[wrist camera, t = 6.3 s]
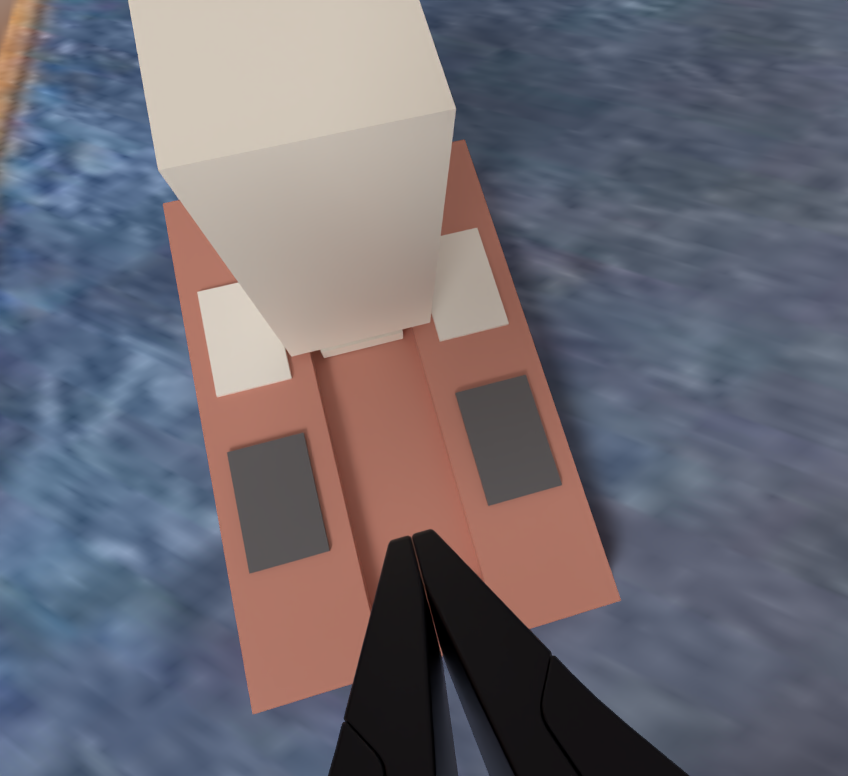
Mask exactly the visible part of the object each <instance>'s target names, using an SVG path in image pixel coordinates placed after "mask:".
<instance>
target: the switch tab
mask: <svg viewBox="0 0 848 776" xmlns="http://www.w3.org/2000/svg"><path fill="white" fill-rule="evenodd" d="M128 2H129V7H130V13H131V19H132V24H133V30H134V36H135V41H136V47H137V53H138V58H139V64H140V70H141V75H142V81H143V87H144V92H145V98H146V104H147V109H148V115H149V121H150V126H151V132H152V138H153V143H154V149H155V155H156V160H157V166H158V171H159V172H160V173H161V175H162V176H163V178H164V179H165V180H166V182H167V183H168V185H169V186H170V187H171V189H172V190H173V192H174V193H175V194H176V196H177V197H178V199H179V200H180V201H181V203H182V204H183V206H184V207H185V208H186V210H187V211H188V213H189V214H190V215H191V217H192V218H193V220H194V221H195V222H196V224H197V225H198V227H199V228H200V229H201V231H202V232H203V234H204V235H205V236H206V238H207V239H208V241H209V242H210V243H211V245H212V246H213V248H214V249H215V250H216V252H217V253H218V255H219V256H220V257H221V259H222V260H223V262H224V263H225V264H226V266H227V267H228V269H229V270H230V271H231V273H232V274H233V276H234V277H235V278H236V280H237V281H238V283H239V284H240V285H241V287H242V288H243V290H244V291H245V292H246V294H247V295H248V297H249V298H250V299H251V301H252V302H253V304H254V305H255V306H256V308H257V309H258V311H259V312H260V313H261V315H262V316H263V318H264V319H265V320H266V322H267V323H268V325H269V326H270V327H271V329H272V330H273V332H274V333H275V334H276V336H277V337H278V339H279V340H280V341H281V343H282V344H283V346H284V347H285V348H286V350H287V351H288V353H289V354H290V355H291V357H292V356H296V355H300V354H304V353H308V352H313V351H317V350H321V353H322V355H323V357H324V358H327V357H331V356H335V355H339V354H343V353H347V352H351V351H355V350H359V349H363V348H367V347H372V346H376V345H380V344H384V343H388V342H392V341H396V340H400V339H403V331H402V329H406V328H410V327H414V326H418V325H422V324H426V323H430V319H431V311H432V303H433V294H434V286H435V278H436V270H437V261H438V253H439V245H440V237H441V228H442V220H443V212H444V204H445V195H446V187H447V179H448V171H449V163H450V154H451V146H452V138H453V130H454V121H455V113H456V107H455V104H454V101H453V98H452V95H451V92H450V89H449V87H448V84H447V81H446V78H445V75H444V72H443V69H442V66H441V63H440V60H439V57H438V54H437V51H436V48H435V45H434V42H433V39H432V37H431V34H430V31H429V28H428V25H427V22H426V19H425V16H424V13H423V10H422V7H421V4H420V1H419V0H128Z"/></svg>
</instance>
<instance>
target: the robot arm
mask: <svg viewBox="0 0 848 776" xmlns="http://www.w3.org/2000/svg"><path fill="white" fill-rule="evenodd" d="M412 540H413V542H412ZM413 544H414V545H413ZM414 548H415V549H414ZM415 552H416V553H415ZM416 556H417V557H416ZM417 560H418V561H417ZM418 564H419V565H418ZM419 567H420V569H419ZM420 571H421V572H420ZM421 575H422V576H421ZM422 579H423V580H422ZM423 583H424V584H423ZM424 587H425V588H424ZM425 591H426V592H425ZM426 595H427V596H426ZM427 598H428V599H427ZM428 602H429V603H428ZM429 606H430V607H429ZM430 610H431V611H430ZM431 614H432V615H431ZM432 618H433V619H432ZM433 622H434V623H433ZM434 625H435V627H434ZM435 629H436V630H435ZM436 633H437V634H436ZM437 637H438V638H437ZM438 641H439V642H438ZM439 644H440V647H439ZM440 648H441V651H442V654H443V657H444V660H445V663H446V665H447V668H448V671H449V673H450V676H451V678H452V681H453V683H454V686H455V689H456V691H457V694H458V696H459V699H460V701H461V704H462V707H463V709H464V712H465V714H466V717H467V719H468V722H469V724H470V727H471V730H472V732H473V735H474V737H475V740H476V742H477V745H478V748H479V750H480V753H481V755H482V758H483V760H484V763H485V765H486V768H487V771H488V773H489V776H689V775H688V774H687V773H686V772H684V771H683V770H682V769H681V768H679V767H678V766H677V765H676V764H675V763H673V762H672V761H671V760H670V759H669V758H667V757H666V756H665V755H664V754H663V753H661V752H660V751H659V750H658V749H657V748H655V747H654V746H653V745H652V744H651V743H649V742H648V741H647V740H646V739H645V738H643V737H642V736H641V735H640V734H639V733H637V732H636V731H635V730H634V729H633V728H631V727H630V726H629V725H628V724H626V723H625V722H624V721H623V720H622V719H621V718H620V717H618V716H617V715H616V714H615V713H614V712H613V711H612V710H610V709H609V708H608V707H607V706H606V705H605V704H604V703H602V702H601V701H600V700H599V699H598V698H597V697H596V696H595V695H594V694H593V693H592V692H591V691H590V690H589V689H588V688H586V687H585V686H584V685H583V684H582V683H581V682H580V681H579V680H578V679H577V678H576V677H575V676H574V675H573V674H572V673H571V672H570V671H569V670H568V669H567V668H566V667H565V666H564V665H563V663H562V662H561V661H560V660H559V659H558V658H557V657H556V656H552V653H551V651H550V650H549V649H548V648H547V647H546V646H545V645H544V644H543V643H542V642H541V641H540V640H539V639H538V638H537V637H536V636H535V635H534V634H533V633H532V632H531V630H530V629H529V628H528V627H527V626H526V625H525V624H524V623H523V622H522V621H521V620H520V619H519V618H518V617H517V616H516V615H515V614H514V613H513V612H512V611H511V610H510V609H509V608H508V607H507V605H506V604H505V603H504V602H503V601H502V600H501V599H500V598H499V597H498V596H497V595H496V594H495V593H494V592H493V591H492V590H491V589H490V588H489V587H488V586H487V585H486V584H485V583H484V582H483V580H482V579H481V578H480V577H479V576H478V575H477V574H476V573H475V572H474V571H473V570H472V569H471V568H470V567H469V566H468V565H467V564H466V563H465V562H464V561H463V560H462V559H461V558H460V557H459V556H458V554H457V553H456V552H455V551H454V550H453V549H452V548H451V547H450V546H449V545H448V544H447V543H446V542H445V541H444V540H443V539H442V538H441V537H440V536H439V535H438V534H437V533H436V532H435V531H434V530H433V529H428V530H424V531H421V532H417V533H414V534H413V535H412V538H411V537H410V536H408V535H407V536H403V537H400V538H396V539H393V540H391V541H390V542H389V544H388V547H387V551H386V555H385V559H384V562H383V566H382V570H381V574H380V578H379V582H378V586H377V590H376V594H375V598H374V602H373V606H372V609H371V613H370V617H369V621H368V625H367V629H366V633H365V637H364V641H363V645H362V649H361V653H360V656H359V660H358V664H357V668H356V672H355V676H354V680H353V684H352V688H351V692H350V696H349V700H348V703H347V707H346V711H345V715H344V720H345V722H343V723H342V726H341V730H340V734H339V738H338V742H337V746H336V749H335V753H334V756H333V760H332V763H331V767H330V770H329V774H328V776H458V771H457V763H456V756H455V749H454V741H453V734H452V727H451V719H450V712H449V705H448V698H447V690H446V683H445V676H444V668H443V662H442V656H441V651H440Z"/></svg>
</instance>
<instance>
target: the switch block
mask: <svg viewBox="0 0 848 776" xmlns="http://www.w3.org/2000/svg"><path fill="white" fill-rule="evenodd" d="M163 207H164V213H165V219H166V224H167V230H168V236H169V241H170V247H171V253H172V258H173V264H174V270H175V275H176V281H177V287H178V293H179V298H180V304H181V310H182V315H183V321H184V327H185V332H186V338H187V344H188V349H189V355H190V361H191V366H192V372H193V378H194V383H195V389H196V395H197V400H198V406H199V412H200V418H201V423H202V429H203V435H204V440H205V446H206V452H207V457H208V463H209V469H210V474H211V480H212V486H213V491H214V497H215V503H216V508H217V514H218V520H219V525H220V531H221V537H222V543H223V548H224V554H225V560H226V565H227V571H228V577H229V582H230V588H231V594H232V599H233V605H234V611H235V616H236V622H237V628H238V633H239V639H240V645H241V650H242V656H243V662H244V668H245V673H246V679H247V685H248V690H249V696H250V702H251V707H252V713H253V714H256V713H259V712H262V711H266V710H269V709H272V708H275V707H279V706H282V705H285V704H288V703H292V702H295V701H298V700H301V699H304V698H308V697H311V696H314V695H317V694H321V693H324V692H327V691H330V690H334V689H337V688H340V687H343V686H346V685H350V684H353V680H354V676H355V672H356V668H357V664H358V660H359V656H360V653H361V649H362V645H363V641H364V637H365V633H366V629H367V625H368V621H369V617H370V613H371V609H372V606H373V602H374V598H375V594H376V590H377V586H378V582H379V578H380V574H381V570H382V566H383V562H384V559H385V555H386V551H387V547H388V544H389V542H390V541H391V540H393V539H396V538H400V537H403V536H407V535H408V536H410V537H411V538H412V535H413V534H414V533H417V532H421V531H424V530H428V529H433V530H434V531H435V532H436V533H437V534H438V535H439V536H440V537H441V538H442V539H443V540H444V541H445V542H446V543H447V544H448V545H449V546H450V547H451V548H452V549H453V550H454V551H455V552H456V553H457V554H458V556H459V557H460V558H461V559H462V560H463V561H464V562H465V563H466V564H467V565H468V566H469V567H470V568H471V569H472V570H473V571H474V572H475V573H476V574H477V575H478V576H479V577H480V578H481V579H482V580H483V582H484V583H485V584H486V585H487V586H488V587H489V588H490V589H491V590H492V591H493V592H494V593H495V594H496V595H497V596H498V597H499V598H500V599H501V600H502V601H503V602H504V603H505V604H506V605H507V607H508V608H509V609H510V610H511V611H512V612H513V613H514V614H515V615H516V616H517V617H518V618H519V619H520V620H521V621H522V622H523V623H524V624H525V625H526V626H527V627H528V628H529V629H531V628H534V627H537V626H540V625H544V624H547V623H550V622H553V621H557V620H560V619H563V618H566V617H569V616H573V615H576V614H579V613H582V612H586V611H589V610H592V609H595V608H599V607H602V606H605V605H608V604H611V603H615V602H618V601H621V599H620V596H619V593H618V590H617V587H616V584H615V581H614V578H613V575H612V572H611V569H610V566H609V563H608V561H607V558H606V555H605V552H604V549H603V546H602V543H601V540H600V537H599V534H598V531H597V528H596V525H595V522H594V519H593V516H592V513H591V510H590V507H589V504H588V502H587V499H586V496H585V493H584V490H583V487H582V484H581V481H580V478H579V475H578V472H577V469H576V466H575V463H574V460H573V457H572V454H571V451H570V448H569V445H568V443H567V440H566V437H565V434H564V431H563V428H562V425H561V422H560V419H559V416H558V413H557V410H556V407H555V404H554V401H553V398H552V395H551V392H550V389H549V386H548V384H547V381H546V378H545V375H544V372H543V369H542V366H541V363H540V360H539V357H538V354H537V351H536V348H535V345H534V342H533V339H532V336H531V333H530V330H529V327H528V324H527V322H526V319H525V316H524V313H523V310H522V307H521V304H520V301H519V298H518V295H517V292H516V289H515V286H514V283H513V280H512V277H511V274H510V271H509V268H508V265H507V263H506V260H505V257H504V254H503V251H502V248H501V245H500V242H499V239H498V236H497V233H496V230H495V227H494V224H493V221H492V218H491V215H490V212H489V209H488V206H487V204H486V201H485V198H484V195H483V192H482V189H481V186H480V183H479V180H478V177H477V174H476V171H475V168H474V165H473V162H472V159H471V156H470V153H469V150H468V147H467V145H466V142H465V139H464V140H460V141H455V142H452V146H451V154H450V163H449V171H448V179H447V187H446V195H445V204H444V212H443V220H442V228H441V237H440V245H439V253H438V261H437V270H436V278H435V286H434V294H433V303H432V311H431V319H430V323H426V324H422V325H418V326H414V327H410V328H406V329H402V331H403V339H400V340H396V341H392V342H388V343H384V344H380V345H376V346H372V347H367V348H363V349H359V350H355V351H351V352H347V353H343V354H339V355H335V356H331V357H327V358H324V357H323V355H322V353H321V350H317V351H313V352H308V353H304V354H300V355H296V356H292V357H291V355H290V354H289V353H288V351H287V350H286V348H285V347H284V346H283V344H282V343H281V341H280V340H279V339H278V337H277V336H276V334H275V333H274V332H273V330H272V329H271V327H270V326H269V325H268V323H267V322H266V320H265V319H264V318H263V316H262V315H261V313H260V312H259V311H258V309H257V308H256V306H255V305H254V304H253V302H252V301H251V299H250V298H249V297H248V295H247V294H246V292H245V291H244V290H243V288H242V287H241V285H240V284H239V283H238V281H237V280H236V278H235V277H234V276H233V274H232V273H231V271H230V270H229V269H228V267H227V266H226V264H225V263H224V262H223V260H222V259H221V257H220V256H219V255H218V253H217V252H216V250H215V249H214V248H213V246H212V245H211V243H210V242H209V241H208V239H207V238H206V236H205V235H204V234H203V232H202V231H201V229H200V228H199V227H198V225H197V224H196V222H195V221H194V220H193V218H192V217H191V215H190V214H189V213H188V211H187V210H186V208H185V207H184V206H183V204H182V203H181V201H180V200H178V201H173V202H168V203H163ZM412 542H413V540H412ZM413 545H414V544H413ZM414 549H415V548H414ZM415 553H416V552H415ZM416 557H417V556H416ZM417 561H418V560H417ZM418 565H419V564H418ZM419 569H420V567H419ZM420 572H421V571H420ZM421 576H422V575H421ZM422 580H423V579H422ZM423 584H424V583H423ZM424 588H425V587H424ZM425 592H426V591H425ZM426 596H427V595H426ZM427 599H428V598H427ZM428 603H429V602H428ZM429 607H430V606H429ZM430 611H431V610H430ZM431 615H432V614H431ZM432 619H433V618H432ZM433 623H434V622H433ZM434 627H435V625H434ZM435 630H436V629H435ZM436 634H437V633H436ZM437 638H438V637H437ZM438 642H439V641H438ZM439 647H440V644H439ZM440 651H441V648H440ZM441 656H443V654H442V651H441Z"/></svg>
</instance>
